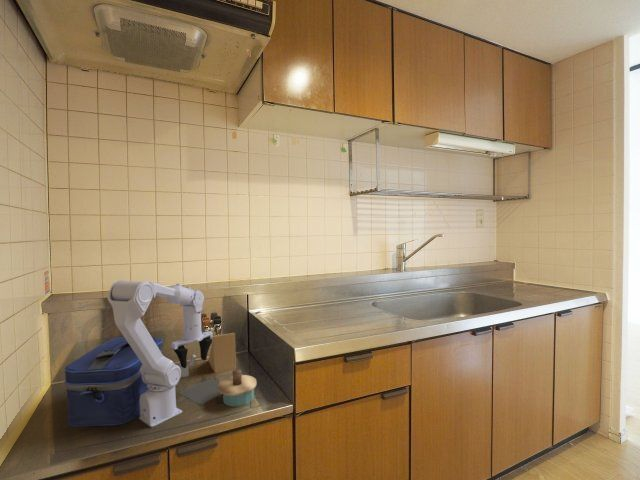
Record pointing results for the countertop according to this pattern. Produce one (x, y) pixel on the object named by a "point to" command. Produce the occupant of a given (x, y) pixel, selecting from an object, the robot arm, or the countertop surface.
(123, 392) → the lunch bag
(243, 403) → the bowl
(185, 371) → the lighter
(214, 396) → the mat
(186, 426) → the countertop surface
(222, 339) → the sandwich container
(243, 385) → the lid
